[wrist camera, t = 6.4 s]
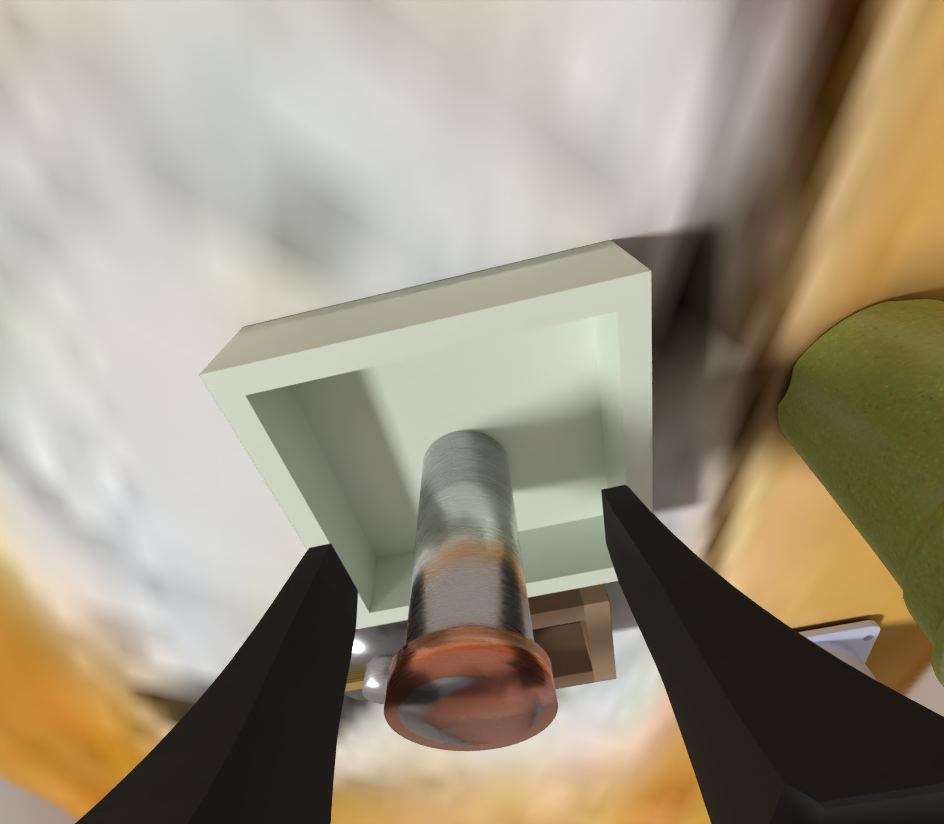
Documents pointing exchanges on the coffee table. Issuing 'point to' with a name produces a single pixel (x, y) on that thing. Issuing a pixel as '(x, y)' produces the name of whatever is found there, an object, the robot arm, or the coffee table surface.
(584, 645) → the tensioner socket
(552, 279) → the tray
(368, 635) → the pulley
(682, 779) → the coffee table surface
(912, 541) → the plant pot
